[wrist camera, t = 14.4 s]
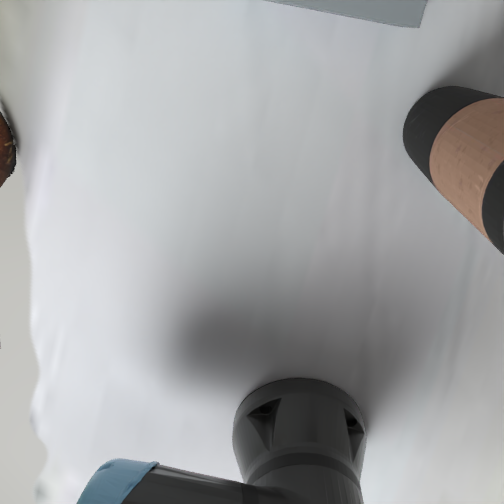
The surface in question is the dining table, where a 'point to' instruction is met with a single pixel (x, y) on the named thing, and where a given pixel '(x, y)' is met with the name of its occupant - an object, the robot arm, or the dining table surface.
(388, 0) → the socket board
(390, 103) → the dining table surface
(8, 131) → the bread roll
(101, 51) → the dining table surface
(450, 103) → the travel mug
